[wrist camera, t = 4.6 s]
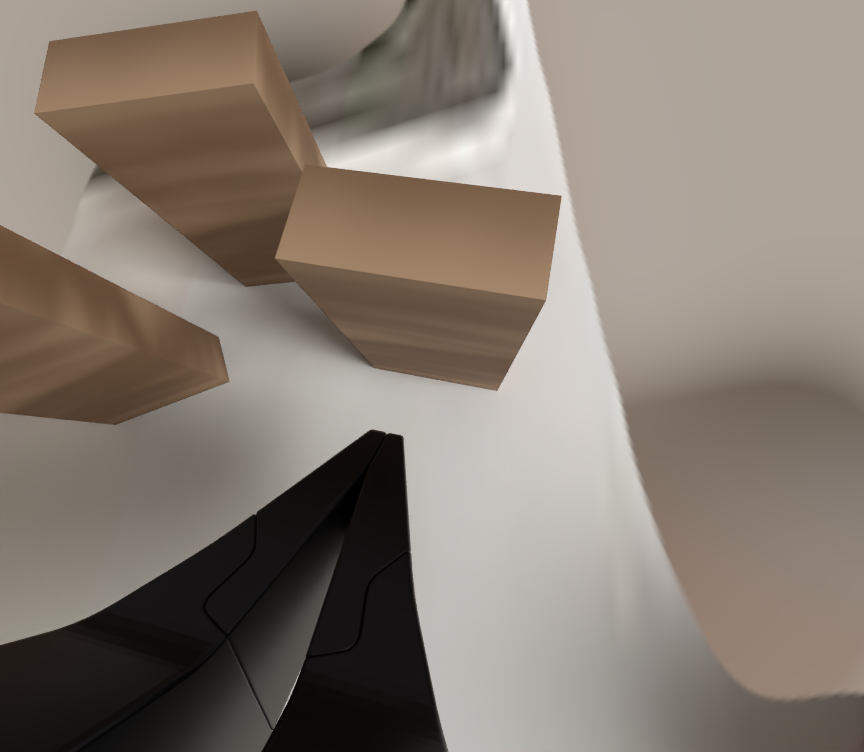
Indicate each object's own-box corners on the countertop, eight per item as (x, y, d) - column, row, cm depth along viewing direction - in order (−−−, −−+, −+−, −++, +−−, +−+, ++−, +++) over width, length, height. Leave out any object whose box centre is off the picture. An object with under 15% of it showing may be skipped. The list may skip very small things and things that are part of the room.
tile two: (229, 381, 18) (-30, 292, 9) (115, 424, 18) (-275, 383, 9) (217, 333, 19) (-36, 200, 9) (107, 375, 19) (-264, 284, 9)
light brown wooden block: (357, 274, 19) (253, 83, 9) (246, 286, 20) (34, 113, 10) (356, 229, 20) (257, 5, 10) (248, 241, 20) (50, 35, 10)
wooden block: (497, 390, 17) (546, 300, 8) (374, 367, 18) (274, 258, 8) (506, 336, 18) (562, 187, 8) (387, 316, 19) (307, 157, 9)
